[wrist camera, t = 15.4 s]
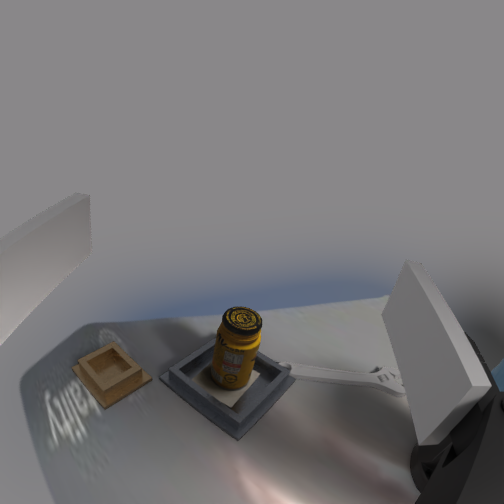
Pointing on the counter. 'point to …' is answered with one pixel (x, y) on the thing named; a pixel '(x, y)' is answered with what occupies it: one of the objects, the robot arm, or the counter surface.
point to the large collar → (247, 406)
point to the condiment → (233, 356)
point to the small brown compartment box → (110, 374)
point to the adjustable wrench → (350, 377)
